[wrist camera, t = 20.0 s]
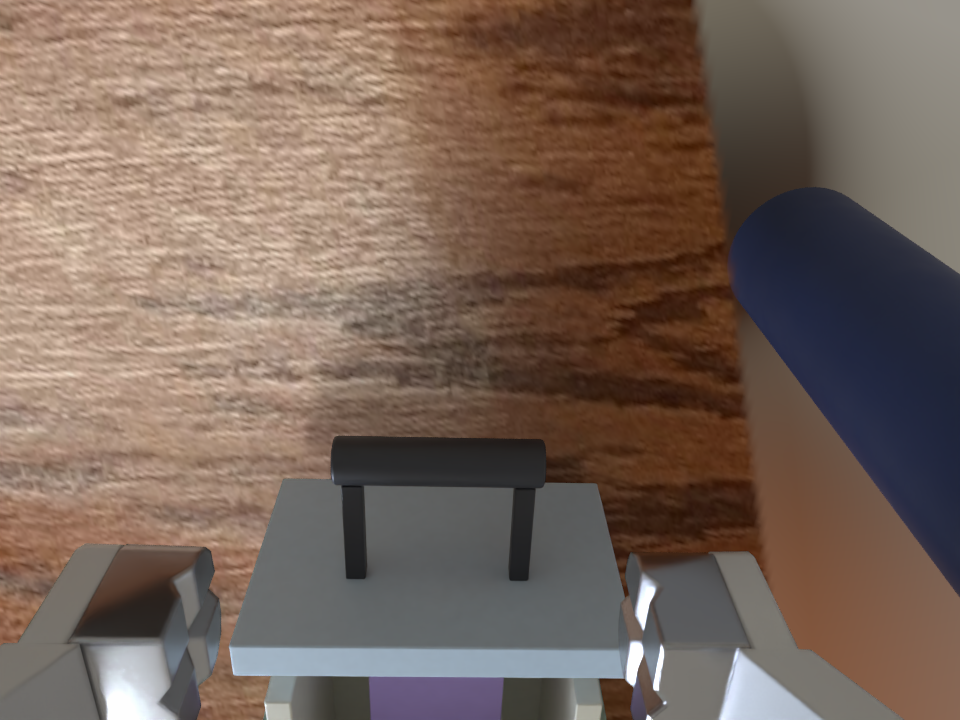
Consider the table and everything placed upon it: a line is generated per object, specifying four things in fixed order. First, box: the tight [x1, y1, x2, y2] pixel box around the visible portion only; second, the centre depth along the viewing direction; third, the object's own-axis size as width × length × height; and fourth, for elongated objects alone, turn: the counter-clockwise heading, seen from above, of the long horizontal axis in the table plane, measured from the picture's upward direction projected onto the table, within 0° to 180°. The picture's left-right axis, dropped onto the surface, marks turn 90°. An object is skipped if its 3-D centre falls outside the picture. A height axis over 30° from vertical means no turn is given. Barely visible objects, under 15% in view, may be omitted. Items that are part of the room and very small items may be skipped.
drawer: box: [229, 436, 625, 720], centre depth 28 cm, size 18×11×8 cm, turn 178°
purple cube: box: [369, 676, 504, 720], centre depth 28 cm, size 4×4×4 cm
